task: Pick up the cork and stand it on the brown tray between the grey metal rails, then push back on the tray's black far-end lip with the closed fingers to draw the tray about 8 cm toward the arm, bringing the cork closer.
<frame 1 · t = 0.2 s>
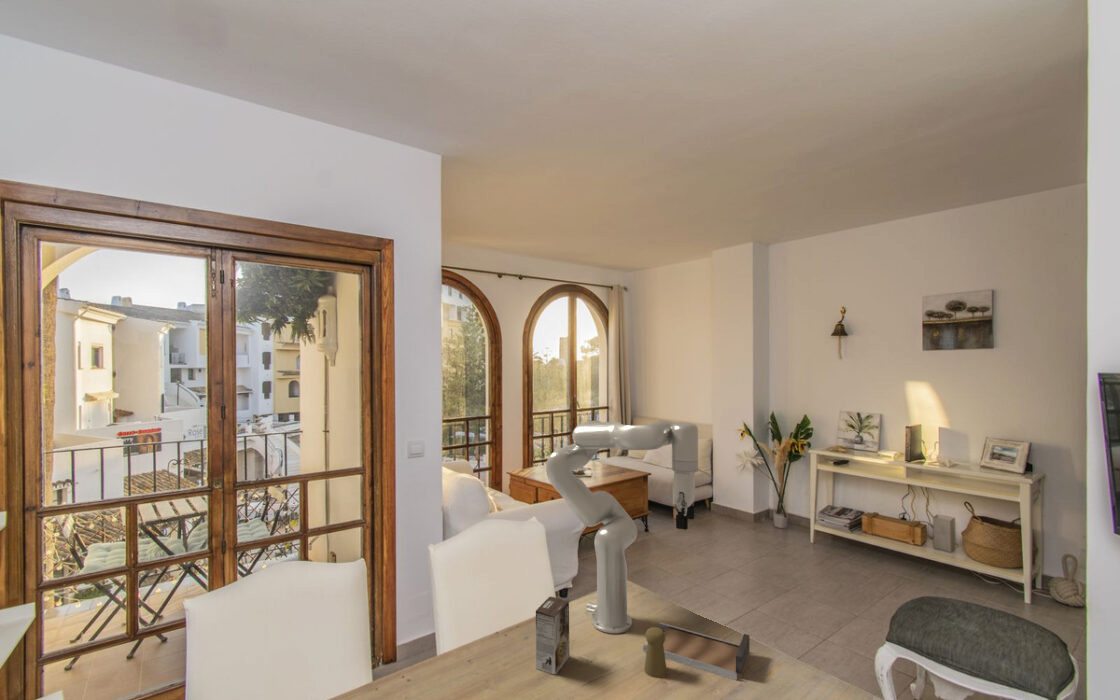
hand: (685, 523, 149), 36 cm above the table, tool pointing down, fingers open, 9 cm apart
brown tray: (701, 643, 145), point 3 cm above the table, slide at 0.0 cm
coffee box: (552, 663, 141), on the table
rails: (701, 653, 145), on the table
cork: (655, 671, 137), on the table
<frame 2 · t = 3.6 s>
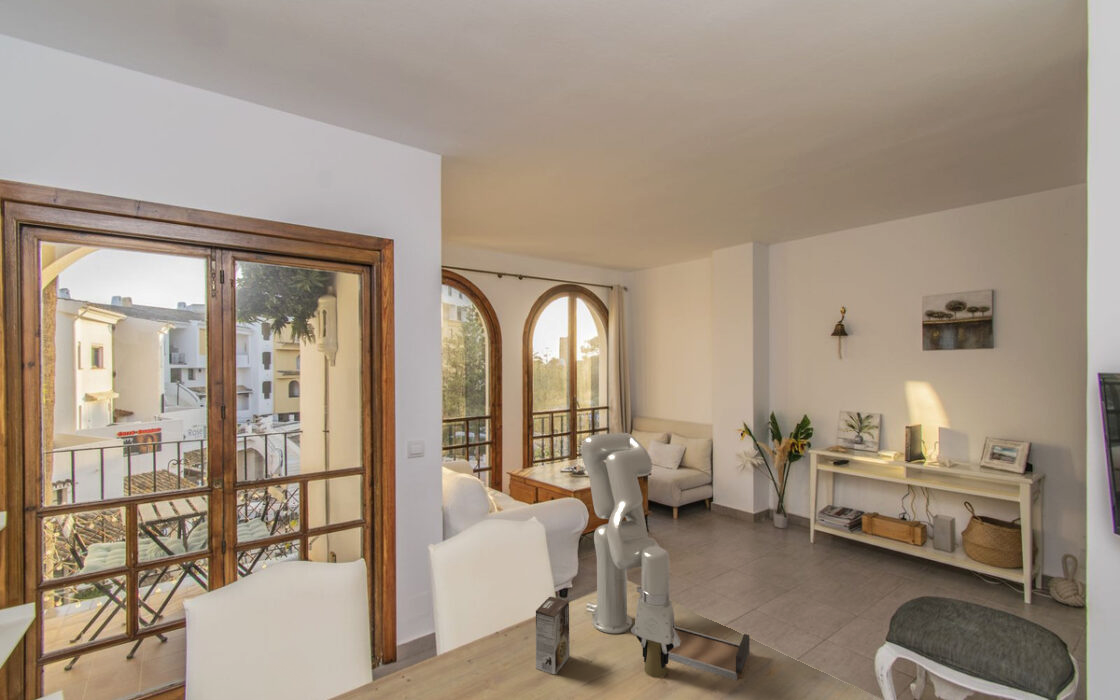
hand: (655, 661, 137), 2 cm above the table, tool pointing down, fingers closed on cork, 4 cm apart
cork: (655, 671, 137), on the table, touching gripper
everything else where it was.
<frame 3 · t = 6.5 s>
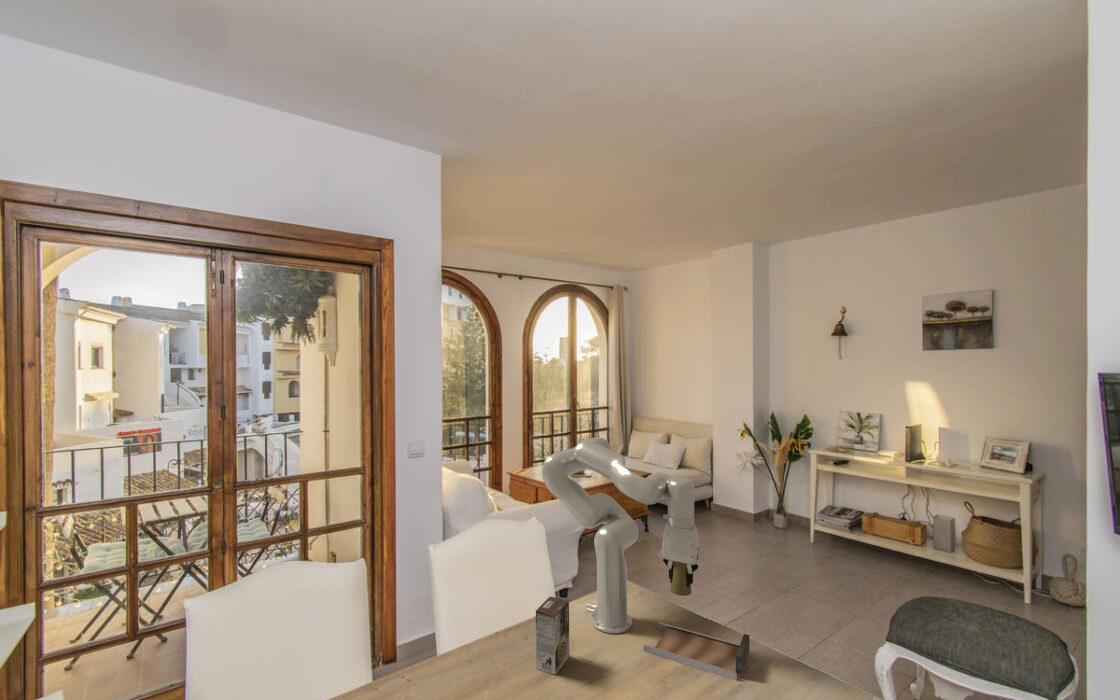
hand: (680, 582, 148), 19 cm above the table, tool pointing down, fingers closed on cork, 4 cm apart
cork: (680, 591, 148), point 16 cm above the table, touching gripper
everything else where it was.
when the fingers open (5 cm above the table, at t = 9.3 s): cork drops 1 cm, resting on brown tray.
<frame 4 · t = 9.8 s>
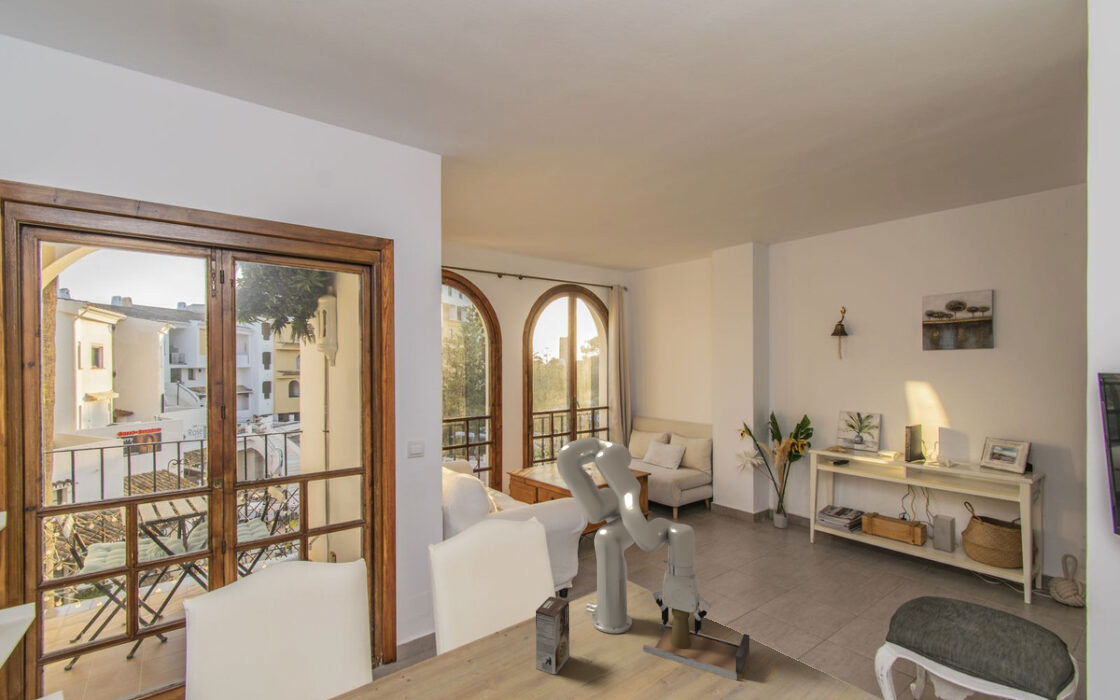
hand: (681, 626, 148), 6 cm above the table, tool pointing down, fingers open, 9 cm apart
brown tray: (701, 643, 145), point 3 cm above the table, slide at 0.0 cm, touching cork
cork: (680, 643, 148), point 1 cm above the table, touching brown tray
everything else where it was.
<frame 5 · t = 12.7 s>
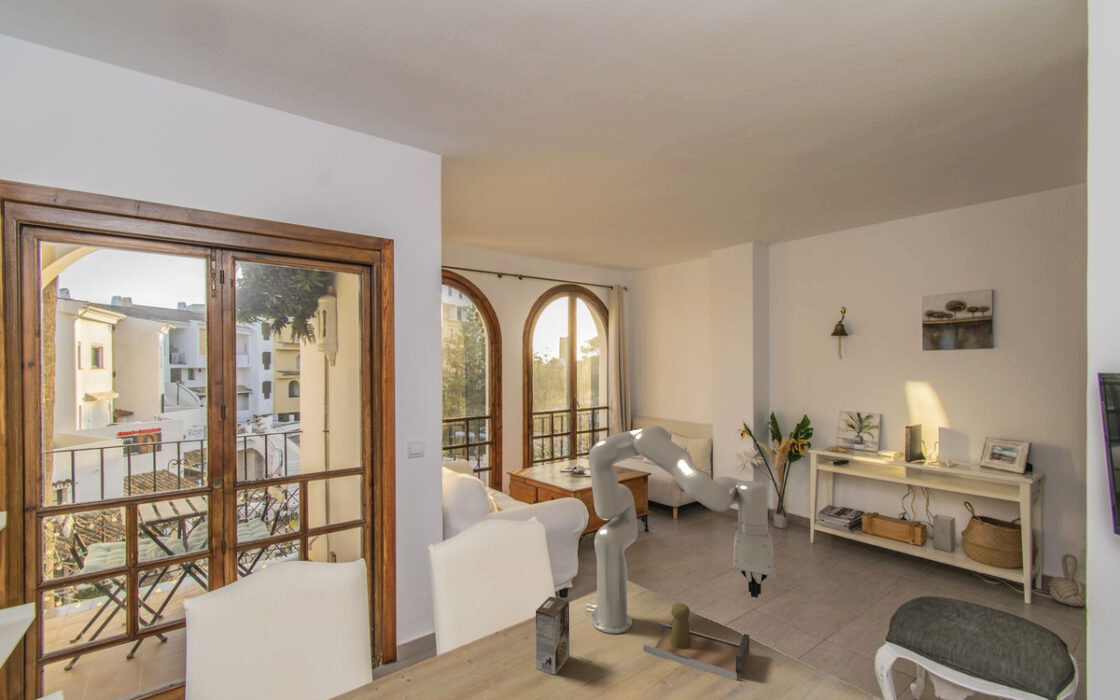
hand: (754, 595, 138), 20 cm above the table, tool pointing down, fingers closed
nothing on the table moved.
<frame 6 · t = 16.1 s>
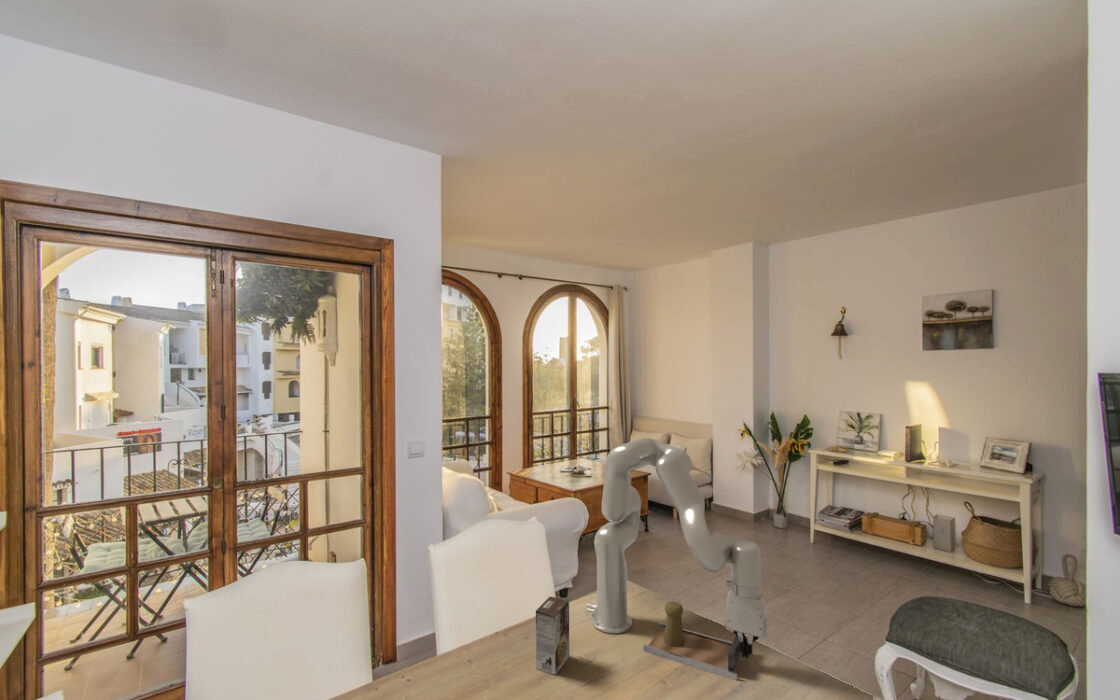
hand: (746, 655, 139), 3 cm above the table, tool pointing down, fingers closed
brown tray: (695, 641, 146), point 3 cm above the table, slide at 2.0 cm, touching gripper, cork
cork: (674, 641, 149), point 1 cm above the table, touching brown tray
everything else where it was.
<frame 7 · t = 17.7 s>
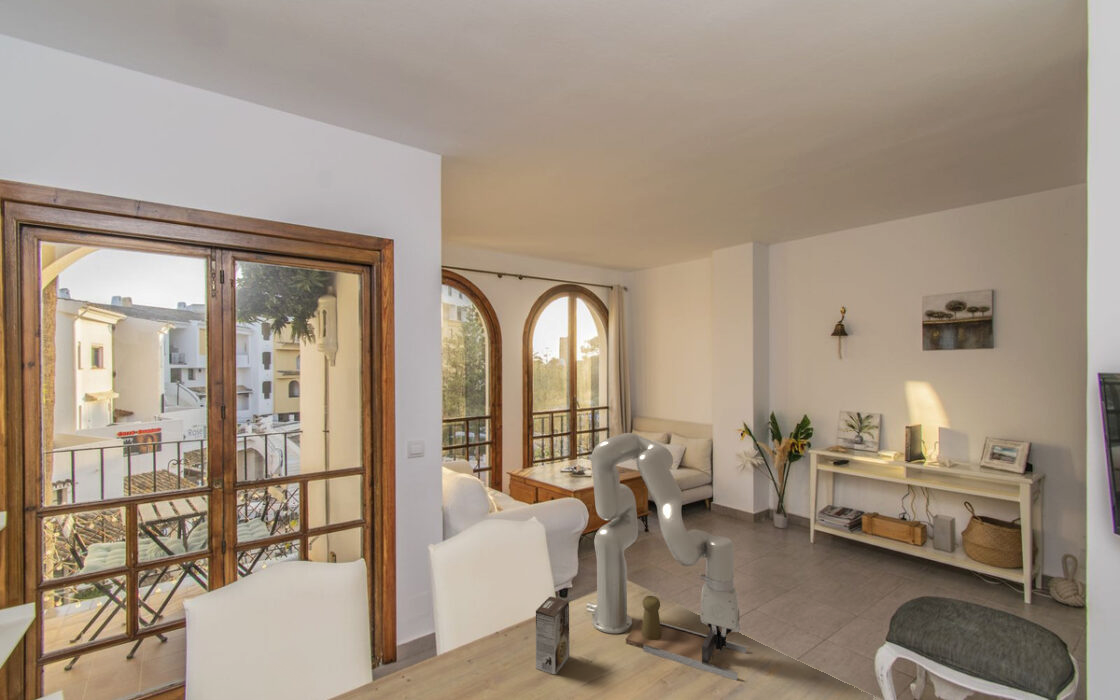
hand: (720, 647, 142), 3 cm above the table, tool pointing down, fingers closed
brown tray: (671, 634, 149), point 3 cm above the table, slide at 9.0 cm, touching gripper, cork
cork: (651, 635, 152), point 1 cm above the table, touching brown tray
everything else where it was.
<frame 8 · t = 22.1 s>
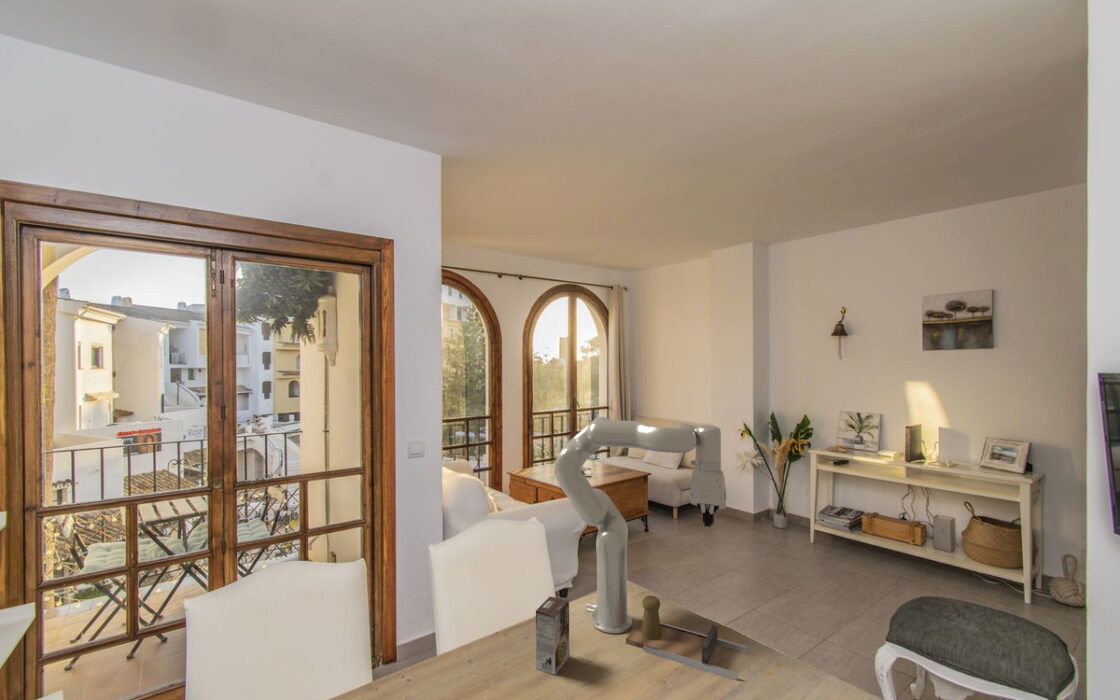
hand: (708, 525, 156), 33 cm above the table, tool pointing down, fingers closed
brown tray: (671, 634, 149), point 3 cm above the table, slide at 9.0 cm, touching cork
everything else where it was.
at the end: brown tray slide at 9.0 cm; cork inside the target area (1.4 cm from its centre), point 1.1 cm above the table; cork tilted 0° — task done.
